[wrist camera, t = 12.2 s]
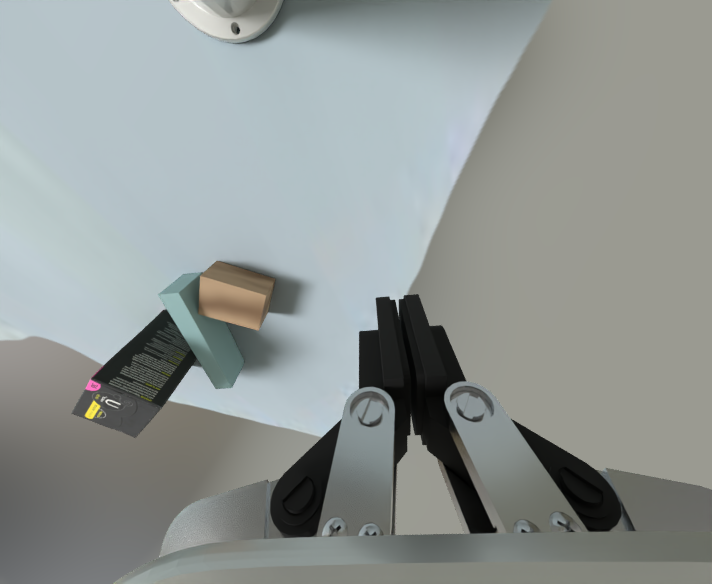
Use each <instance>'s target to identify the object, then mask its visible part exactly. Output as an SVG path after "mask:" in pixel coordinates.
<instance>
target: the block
mask: <svg viewBox="0 0 712 584" xmlns="http://www.w3.org/2000/svg"><path fill="white" fill-rule="evenodd" d="M274 284H275V279H274V278H271V277H267V276H264V275H261V274H258V273H255V272H252V271H248V270H245V269H242V268H239V267H236V266H232V265H229V264H226V263H223V262H220V261H216V262H215V263H214V264H213V265H212V266H210V267H209V268H208V269H207V270H206V271H205V272H204V273H203V274H202V275H200V290H199V310H198V314H199V315H203V316H207V317H210V318H214V319H218V320H221V321H225V322H229V323H232V324H236V325H240V326H243V327H247V328H251V329H254V330H258V331H259V329H260V327H261V325H262V323H263V321H264V319H265V317H266V315H267V313H268V310H269V305H270V301H271V297H272V292H273V288H274Z"/></svg>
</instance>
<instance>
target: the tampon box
mask: <svg viewBox="0 0 712 584" xmlns="http://www.w3.org/2000/svg"><path fill="white" fill-rule="evenodd" d="M196 359H197V358H196V356H195V354H194V353H193V351H192V349H191V348H190V346H189V345H188V343H187V341H186V340H185V338H184V336H183V335H182V333H181V332H180V330H179V328H178V327H177V325H176V323H175V322H174V320H173V318H172V317H171V315H170V314H169V312H167V311H165V310H163V311H162V312H161V313H160V314H159V315H158V316H157V317H156V318H155V319H154V320H153V321H152V322H150V323H149V324H148V325H147V326H146V327H145V328H144V329H143V330H142V331H141V332H140V333H139V334H138V335H136V336H135V337H134V338H133V339H132V340H131V341H130V342H129V343H128V344H127V345H125V346H124V347H123V348H122V349H121V350H120V351H119V352H118V353H117V354H116V355H114V356H113V357H112V358H111V359H110V360H109V361H108V362H107V363H106V364H105V365H104V366H103V367H102V368H101V369H100V370H99V371H98V372H97V373H96V374H95V375H94V376H93V377H92V378H91V379H90V381H89V383H88V385H87V387H86V388H85V390H84V392H83V394H82V395H81V397H80V399H79V401H78V402H77V404H76V406H75V408H74V410H73V411H72V414H74V415H77V416H79V417H83V418H85V419H88V420H90V421H93V422H95V423H98V424H100V425H103V426H105V427H108V428H111V429H115V430H118V431H120V432H123V433H125V434H128V435H130V436H132V437H134V438H135V437H137V436H138V434H139V433H140V432H141V431H142V430H143V429H144V428H145V427H146V425H147V424H148V423H149V422H150V421H151V420H152V418H153V417H154V416H155V415H156V414H157V413H158V412H159V410H160V409H161V408H162V407H163V405H164V404H165V403H166V401H167V400H168V399H169V397H170V396H171V394H172V393H173V392H174V390H175V389H176V387H177V386H178V385H179V383H180V382H181V380H182V379H183V377H184V376H185V375H186V373H187V372H188V370H189V369H190V368H191V366H192V365H193V364H194V362H195V361H196Z"/></svg>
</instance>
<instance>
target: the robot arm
mask: <svg viewBox="0 0 712 584" xmlns="http://www.w3.org/2000/svg"><path fill="white" fill-rule="evenodd" d="M169 1H170V3H171V4H172V6H173V7H174V8H175V9H176V10H177V11H178V12H179V13H180V14H181V15H182V17H183V18H184V19H185V20H186V21H188V22H189V23H190V24H192V25H193V26H194V27H195V28H197V29H198V30H200V31H201V32H203V33H204V34H206V35H208V36H210V37H212V38H215V39H217V40H219V41H223V42H229V43H241V42H246V41H249V40H252V39H254V38H256V37H258V36H259V35H260V34H262V33H263V32H265V31H266V30H267V28H268V27H269V26H270V25H271V24H272V22H273V21H274V20H275V18H276V16H277V14H278V12H279V10H280V9H281V6H282V3H283V0H169ZM238 28H240V33H239V34H237V29H238ZM376 306H377V319H378V330H371V331H360V332H359V389H358V390H357V391H355V392H354V393H352V394H351V395H350V397H349V398H348V399H347V401H346V404H345V407H344V411H343V416H342V419H341V420H340V421H339V422H338V423H337V424H336V425H335V426H334V427H333V428H332V429H331V430H330V431H329V432H327V433H326V434H325V435H324V436H323V437H322V438H321V439H320V440H319V441H318V442H317V443H316V444H315V445H314V446H313V447H312V448H311V449H310V450H309V451H308V452H306V453H305V454H304V456H302V457H301V458H300V459H299V460H298V461H297V462H296V463H295V464H294V465H293V466H292V467H291V468H290V469H289V470H288V471H287V472H285V473H284V475H283V476H282V477H281V478H280V479H278V480H275V481H272V482H268V480H264V481H261V482H257V483H254V484H251V485H248V486H244V487H241V488H238V489H235V490H231V491H228V492H225V493H221V494H218V495H215V496H211V497H208V498H205V499H202V500H198V501H196V502H194V503H192V504H190V505H189V506H187V507H186V508H185V509H184V510H183V511H182V512H180V513H179V514H178V515H177V517H176V518H175V520H174V521H173V522H172V524H171V525H170V527H169V529H168V532H167V533H166V536H165V538H164V541H163V544H162V547H161V551H160V554H159V557H158V559H156V560H153V561H151V562H149V563H147V564H145V565H143V566H141V567H139V568H137V569H136V570H134V571H132V572H130V573H128V574H127V575H125V576H123V577H122V578H120V579H119V580H117V581H116V582H115V583H113V584H712V490H711V489H708V488H704V487H702V486H697V485H692V484H687V483H682V482H676V481H671V480H666V479H661V478H656V477H650V476H645V475H640V474H635V473H629V472H624V471H619V470H614V469H608V468H605V469H604V470H603V471H599V470H595V469H594V468H592V467H590V466H589V465H588V464H587V463H585V462H583V461H582V460H580V459H578V458H577V457H575V456H573V455H572V454H570V453H568V452H567V451H565V450H563V449H561V448H559V447H558V446H556V445H555V444H553V443H551V442H550V441H548V440H546V439H544V438H543V437H541V436H539V435H538V434H536V433H534V432H532V431H531V430H529V429H527V428H526V427H524V426H522V425H520V424H519V423H517V422H515V421H514V420H512V419H510V417H509V416H508V414H507V413H506V412H505V410H504V409H503V407H502V406H501V405H500V403H499V401H498V400H497V399H496V397H495V396H494V395H493V394H492V393H491V392H490V391H489V390H487V389H486V388H485V387H483V386H480V385H478V384H476V383H472V382H467V381H466V380H465V377H464V375H463V372H462V370H461V368H460V365H459V363H458V360H457V358H456V356H455V353H454V351H453V349H452V346H451V344H450V342H449V339H448V337H447V335H446V332H445V330H444V328H443V327H442V326H441V325H440V326H429V323H428V320H427V317H426V315H425V312H424V309H423V306H422V304H421V301H420V298H419V295H418V294H416V295H404V299H399V317H398V312H397V307H396V302H395V300H390V298H389V297H378V298H376ZM411 416H412V422H413V428H414V433H415V435H421V439H422V445H427V450H428V451H429V452H430V453H432V454H433V455H434V456H436V457H437V459H438V464H439V467H440V469H441V472H442V475H443V478H444V480H445V483H446V486H447V488H448V491H449V493H450V496H451V499H452V501H453V504H454V507H455V510H456V512H457V515H458V517H459V520H460V523H461V525H462V528H463V531H464V533H465V534H433V535H396V534H395V533H396V495H397V463H398V462H399V461H400V460H401V458H402V457H403V456H404V455H405V453H406V452H407V435H410V417H411Z"/></svg>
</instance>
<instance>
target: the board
mask: <svg viewBox="0 0 712 584" xmlns="http://www.w3.org/2000/svg"><path fill="white" fill-rule="evenodd" d="M200 275H202V273H191V274H183V275H182V276H181V277H179V278H178V279H177V280H176V281H174V282H173V283H172V284H171V285H170V286H168V287H167V288H166V289H165V290H163V291H162V292H161V293H160V294H158V296H159V297H160V299H161V301H162V302H163V304H164V305H165V307H166V309H167V310H168V312H169V314H170V315H171V317H172V318H173V320H174V322H175V323H176V325H177V327H178V328H179V330H180V332H181V333H182V335H183V336H184V338H185V340H186V341H187V343H188V345H189V346H190V348H191V349H192V351H193V353H194V354H195V356H196V358H197V359H198V361H199V362H200V364H201V366H202V367H203V369H204V371H205V372H206V374H207V375H208V377H209V379H210V380H211V382H212V384H213V385H214V387H215V388H216V389H222V388H232V387H233V385H234V383H235V381H236V379H237V377H238V375H239V373H240V371H241V369H242V367H243V365H244V363H245V361H244V359H243V357H242V355H241V353H240V351H239V349H238V347H237V345H236V343H235V341H234V339H233V336H232V334H231V332H230V330H229V328H228V326H227V324H226V322H225V321H221V320H218V319H214V318H210V317H207V316H203V315H199V314H198V310H199V290H200Z"/></svg>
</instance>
